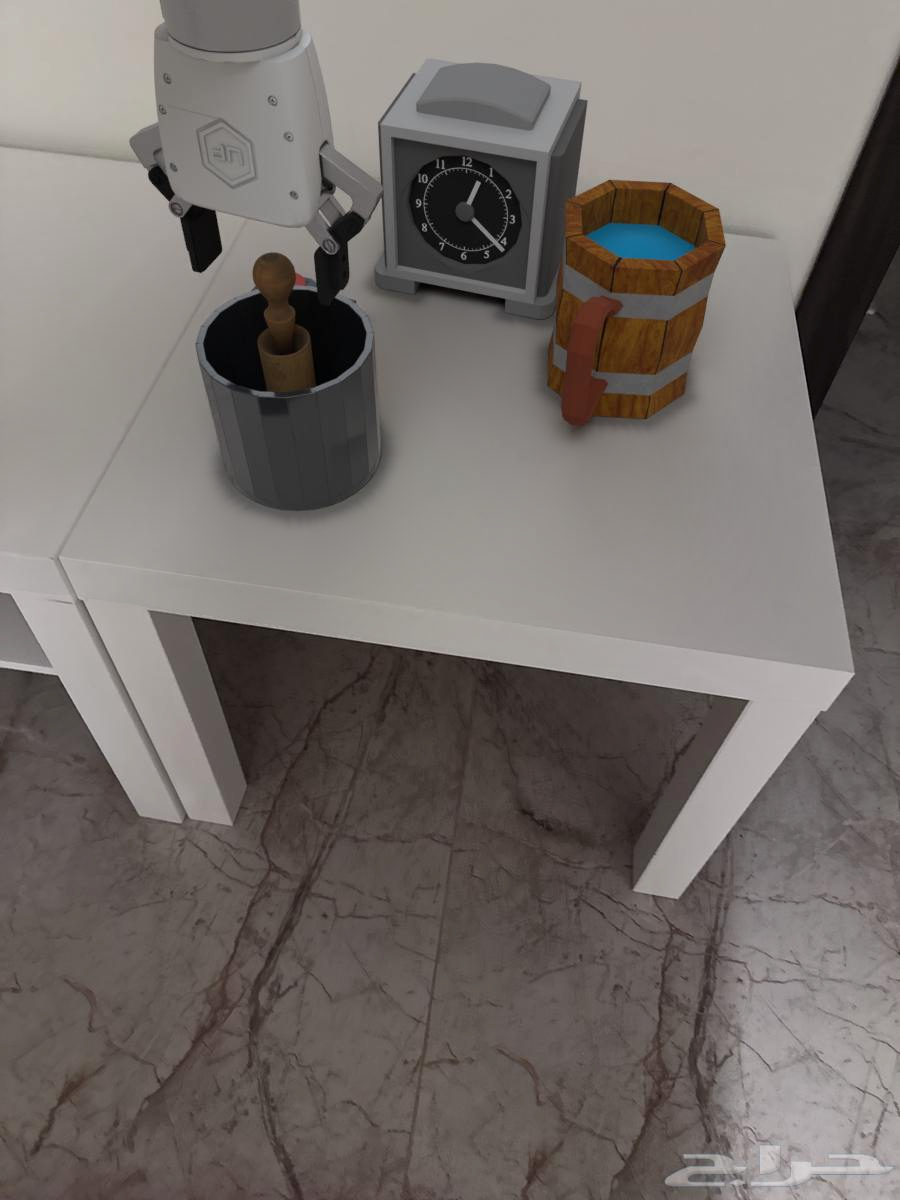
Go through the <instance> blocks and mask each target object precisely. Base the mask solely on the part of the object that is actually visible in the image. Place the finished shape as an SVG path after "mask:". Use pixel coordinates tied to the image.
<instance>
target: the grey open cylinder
mask: <svg viewBox="0 0 900 1200" xmlns="http://www.w3.org/2000/svg"><path fill="white" fill-rule="evenodd" d="M347 298H348V297H346V296H344V295H342V294H340V293H338V294H337V295H336V297H335V298H334V299H333V301H332V302H331V303H330V305H328V306H327V305H323V304H321V303H320V301H318V295H317V287H313V286H298V285H294V287H293V289H292V292H291V294H290V296H289V297H288V304H289V305H290V306H292V307H293V308H294V310H295V325H299V326H301V327H303V328H305V329H306V330H307V331H308V333H309V335H310V340H311V349H312V358H313V366H314V373H315V381H316V387H314V388H309V389H303V390H298V391H292V392H267V388H266V383H265V378H264V373H263V368H262V363H261V358H260V353H259V349H258V343H257V341H258V338H259V336H260V335H261V333H262V332H264V331H265V330H266V329H268V328H269V327H268V325H267V323H266V320H265V317H264V311H265V310H266V308H268V307H269V304H268V301H267V299H266V298H265V297H264V296H263V295H262V293H261V292H260V291H259V290H258V289H256V290H254V291H251V290H250V291H249V292H246V293H243V294H240V295H237V296H235V297H233V298H231V299H229V300H227V302H225V303H223V304H222V305H221V306H219V307H218V308H216V309H215V310H213V311H212V312H211V313H210V315H209V316H208V317H207V318H206V319H205V321H204V322H203V323H202V324H201V326H200V328H199V330H198V334H197V337H196V341H195V345H194V346H195V351H196V356H197V361H198V365H199V369H200V373H201V377H202V381H203V386H204V388H205V389H204V390H205V393H206V397H207V401H208V405H209V409H210V412H211V413H210V414H211V417H212V421H213V425H214V429H215V432H216V436H217V440H218V444H219V449H220V452H221V455H222V460H223V463H224V467H225V470H226V471H227V472H226V473H227V475H228V477H229V479H230V481H231V482H232V484H233V485H234V486H235V488H236V489H237V490H239V491H240V493H242V495H244V496H246V497H247V498H249V499H250V500H252V501H254V502H255V503H258V504H261V505H262V506H265V507H268V508H273V509H278V510H285V511H309V510H310V511H311V510H316V509H322V508H325V507H329V506H332V505H334V504H338V503H340V502H343V501H344V500H346V499H348V498H350V497H351V496H352V495H354V494H356V493H358V492H359V491H360V490H361V489H363V488H364V487H365V486H366V485H367V483H368V482H369V481H370V480H371V478H372V477H373V476H374V474H375V472H376V471H377V468H378V466H379V463H380V460H381V453H382V451H381V450H382V449H381V443H382V437H381V422H380V421H381V419H380V405H379V390H378V387H379V386H378V374H377V357H376V355H377V354H376V341H375V340H376V339H375V332H374V329H373V326H372V323H371V321H370V318H369V316H368V315H367V314H366V312H365V311H364V310H363V309H362V308H361V307H360V306H359V305H358V304H357V302H356V303H355V302H353V301H351V300H349V299H350V298H348V299H347Z"/></svg>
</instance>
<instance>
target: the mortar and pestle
mask: <svg viewBox="0 0 900 1200" xmlns="http://www.w3.org/2000/svg"><path fill="white" fill-rule="evenodd" d="M296 273H297V272H296V269H295V266H294V264H293V262H292V261H291V260H290V258H288V256H286V255H284V254H283V253H280V252H273V251H271V252H267V253H264V254H261V255H259V257H258V258H257V259H256V260H255V262H254V264H253V266H252V281H253V283H254V286H256V287H257V289H258V290H259V291H260V292H261V293H262V295H263V296H264V297H265V298H266V299H267V301H268V304H269V307H268V308H266V310H265V311H264V317H265V320H266V323H267V325H268V327H269V328H268V329H266V330H265V331H264V332H262V333H261V335H260V336H259V338H258V341H257V343H258V349H259V353H260V358H261V363H262V368H263V373H264V378H265V383H266V388H267V392H292V391H298V390H303V389H309V388H314V387H316V381H315V373H314V366H313V358H312V349H311V340H310V335H309V333H308V331H307V330H306V329H305V328H303V327H301V326H299V325H295V310H294V308H293V307H292V306H290V305H289V304H288V297H289V296H290V294H291V292H292V289H293V287H294V285H295V281H296Z"/></svg>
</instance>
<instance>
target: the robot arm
mask: <svg viewBox="0 0 900 1200" xmlns="http://www.w3.org/2000/svg"><path fill="white" fill-rule="evenodd" d="M159 4H160V11H161V15H162V18H163V21H164V22H162V23H160V24H159V25H158V26H156V27H155V29H154V32H153V34H154V35H153V79H154V80H153V81H154V95H155V106H156V115H157V122H154V123H153V124H150V125H148V126H145V127H143V128H140V129H139V130H138V131H137V132H136V133H135V134H134V135H132V136H131V137H130V138H129V140H128V142H129V146H130V148H131V149H132V151H133V152H134V154H135V155H136V157H137V159H138V161H139V162H140V164H141V165H142V167H143V168H144V169H146V170H147V178H148V180H149V182H150V183H151V184H152V186H153V187H154V188H155V189H156V190H157V191H158V192H159V193H160V194H161V195H162V196H163V197H164V198H165V199H166V200H167V201H168V210H169V211H170V213H171V214H172V215H173V216H174V217H176V218H179V221H180V226H181V229H182V234H183V239H184V244H185V249H186V250H187V252H188V257H189V260H190V265H191V270H192V271H193V273H198V274H202V273H205V271H206V270H207V269H208V268H209V267H210V266H211V265H212V264H213V263H214V262H215V261H216V260H217V259H218V258H219V256H220V255H221V254H222V252H223V244H222V237H221V233H220V227H219V221H218V216H217V212H218V213H223V214H227V215H232V216H235V217H239V218H242V219H243V218H244V219H248V220H253V221H256V222H260V223H263V224H264V223H265V224H268V225H272V226H273V225H274V226H278V227H282V228H289V229H300V228H304V227H305V229H306V230H307V231H308V232H309V234H310V236H312V238H313V239H314V240H315V242H316V243H317V244H318V245H319V246H318V247H317V248H316V250H315V251H314V253H313V262H314V273H315V282H316V285H317V295H318V301H320V303H321V304H323V305H327V306H328V305H330V303H331V302H332V301H333V299H334V298H335V297H336V295H337V294H340V291H344V290H345V288H346V287H347V286H348V284H349V282H350V281H349V280H350V274H351V273H350V258H349V244H348V243H349V242H350V241H351V240H352V239H353V238H355V237H356V236H357V235H359V234H360V233H361V231H362V230H364V227H366V225H367V224H368V222H369V221H370V220H371V218H372V215H373V213H374V212H375V210H376V208H377V206H378V205H379V203H380V201H381V200H382V195H383V193H384V189H383V187H382V185H381V182H379V181H378V180H376V179H375V178H374V177H372V176H371V175H370V174H369V173H367V172H366V171H365V170H363V169H362V168H360V167H359V166H358V165H356V164H355V163H354V162H353V161H351V160H350V159H349V158H347V157H346V156H344V154H342V153H341V152H339V151H338V150H336V148H335V141H334V133H333V126H332V125H333V124H332V119H331V114H330V113H331V112H330V107H329V106H330V105H329V100H328V94H327V91H326V86H325V81H324V76H323V72H322V68H321V64H320V60H319V56H318V54H317V53H318V52H317V49H316V47H315V43H314V40H313V36H312V34H311V32H310V31H308V30H305V29H302V20H301V19H302V18H301V7H300V5H301V4H300V0H159ZM337 188H338V189H340V190H341V191H342V192H344V193H345V194H346V195H347V196H349V197H350V199H351V202H352V205H351V207H350V210H348V211H347V212H346V211H345V209H344V208H343V206H342V205H341V204H340V202H339V201H338V199H337V198H336V196H334V195H335V193H336V190H337ZM319 211H320V212H321V213H320V212H319ZM321 214H322V215H323V216H324V217H325V219H326V220H327V221H326V220H325V219H324V217H323V216H322V215H321ZM328 223H329V224H328Z"/></svg>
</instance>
